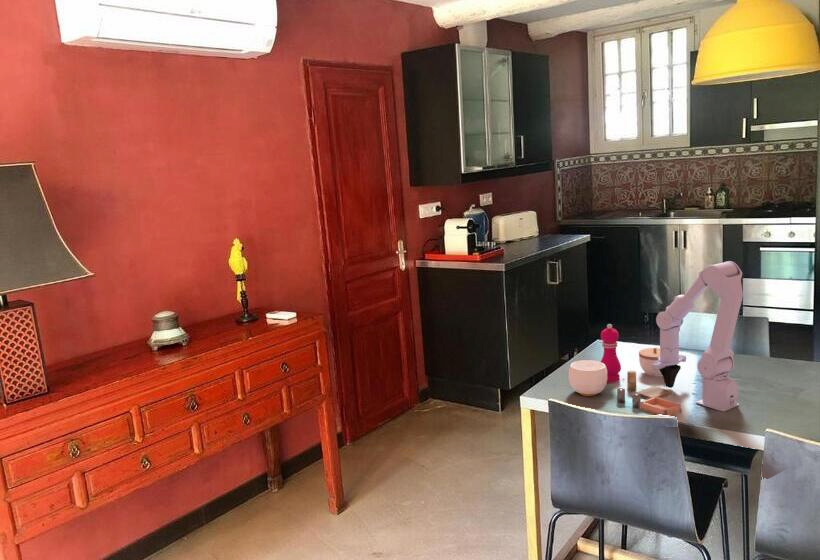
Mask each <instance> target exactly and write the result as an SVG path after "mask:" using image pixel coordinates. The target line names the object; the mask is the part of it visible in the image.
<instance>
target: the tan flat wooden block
mask: <svg viewBox="0 0 820 560" xmlns="http://www.w3.org/2000/svg"><path fill="white" fill-rule="evenodd" d="M635 393H639V394H640V395H641V398H642V397H643V399H645V400H647V399H650V398H653V397H659V398H662V399H665V398H667V397H670V396H672V395H673V391H672V390H669V389H666V388H662V387H659V386H655V385H652V386H651V387H647V388H644V389H640V390H638V391H636V392H635ZM669 395H670V396H669Z"/></svg>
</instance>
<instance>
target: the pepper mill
mask: <svg viewBox="0 0 820 560" xmlns="http://www.w3.org/2000/svg"><path fill="white" fill-rule="evenodd" d="M600 332H601V333H600V340H601V341H602V342H601V343H602V347H603V354H602V355H603V356H602V358H601V360H600V362H602V363H604V364H605V366H606V369H607V382H606V383H609V384H610V383H611V384H612V383H618V382H619V381H620V380H621V379H620V378H621V377H620V374H619V373H620V372H621V370H622V366H621V361H620V360H619V357H618V356H617V347H618V342H617V341H618V340H619V336H620V335H619V331H618V330H617V329H616V328H613V324H611V323H608V324H607V325H606V328H604V329H603V330H601V331H600Z"/></svg>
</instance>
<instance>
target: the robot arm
mask: <svg viewBox="0 0 820 560" xmlns="http://www.w3.org/2000/svg"><path fill="white" fill-rule="evenodd" d="M742 277H743V272H742V270H741V269H740V266H739V265H738V264H737V263H736V262H735V261H731V260H728V261H723V262H720V263H716V264H708V265H706V266H704V268H703V269H702V270H701V271H700V272H699V273H698V276H697V278H695V280H694V282H693V283H692V284H691V285H690V287H689V288H688V289H687V290H686V292H685V293H684V294H679V295H676V296H674V297H673V300H672V302H671V303H670V305H667V306H666V307H665V311H659V312H658V314H657V315H656V317H655V322H656V325H657V326H658V328H659V349H660V357H658V361H657V362H655V363H654V364H652V370H655V371H659V370H660V372H661V374H662V376H661V377H662V378H663V382H664V385H665V387H666V388H669V389H671V388H674V385H675V382H676V379H677V376H678V373H679V372H680V370H681V369H682V368H681V365H678V364H680V363H682V362H683V363H685V362H686V361H687V355H684V354H680V341H679V340H680V331H681V327H682V325H683V324H684V318H685V317H686V316H687V315H688V314H689V313H690V312H691V311H692V310H693V309H694V308H695V301H696V300H697V299H698V298H699V297H700V296H701V295H702V294H703V293H704V292H705V291H706V290H707V289H708V288H710V289H711V290H712V291H713V292H714V293H715V294H717V296H719V297H720V303H719V306H718V310H717V314H716V318H715V321H714V326H713V331H712V335H711V340H710V344H709V346H707V348H706V349H705V350H704V351H703V352H702V356H701V358H700V359H699V360H698V362H697V366H696V367H697V368H696V369H697V371H698V373H699V374H700V375H701V378H702V389H701V390H702V394H701V395H702V398H701V399H699V400H696V401H695V403H696V404H698V405H701V406H704V407H707V408H710V409H714V410H717V411H720V412H726V411H728V410H731V409H733V408H735V407H738V406H740V404H739V402H738V399H739V398H738V397H739V393H738V391H739V385H738V383H737V381H735V380H733V379H731V378H730V373H731V371H733V369H734V368H735V361H734V355H735V353H734V351H733V350H732V349H731V345H732V341H733V337H734V334H735V329H736V325H737V322H738V317H739V313H740V309H741V305H742V302H743V297H744V292H743V285H742Z"/></svg>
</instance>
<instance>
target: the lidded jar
mask: <svg viewBox="0 0 820 560" xmlns="http://www.w3.org/2000/svg"><path fill="white" fill-rule="evenodd" d="M638 356H639V357H638V359H639V366H640V367H641V369H642V371H643V372H645V374H646V375H647V376H650V377H663V376H662V374H661V372H660V370H659V371H655V370H652V364H654V363H655V362H657V361H658V357H660V347H652V348H649V347H648V348H643V349H641V350H639V351H638Z"/></svg>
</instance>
